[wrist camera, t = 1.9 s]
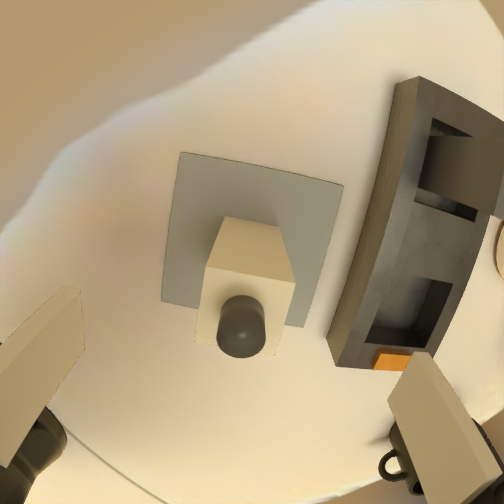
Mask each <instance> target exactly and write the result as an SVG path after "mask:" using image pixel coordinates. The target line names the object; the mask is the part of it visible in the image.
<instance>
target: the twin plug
mask: <svg viewBox="0 0 504 504" xmlns="http://www.w3.org/2000/svg"><path fill="white" fill-rule="evenodd" d="M417 188H420V189H423V190H425V191H428V192H431V193H434V194H437V195H439V196H442V197H445V198H448V199H450V200H453V201H456V202H459V203H461V204H464V205H467V206H469V207H472V208H474V209H477V210H480V211H482V212H485V213H487V214H490V215H492V216H494V217H497V218H499V219H502V220H504V139H494V138H480V137H461V136H429V138H428V143H427V148H426V153H425V158H424V162H423V166H422V171H421V175H420V179H419V183H418V187H417Z"/></svg>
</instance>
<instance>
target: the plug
mask: <svg viewBox="0 0 504 504" xmlns="http://www.w3.org/2000/svg"><path fill="white" fill-rule="evenodd" d="M295 285H296V282H295V278H294V275H293V272H292V268H291V265H290V261H289V258H288V255H287V251H286V248H285V245H284V241H283V238H282V235H281V232H280V228H279V227H278V226H273V225H268V224H263V223H259V222H254V221H249V220H244V219H238V218H233V217H228V216H225V217H224V220H223V222H222V225H221V228H220V230H219V233H218V235H217V238H216V240H215V243H214V246H213V248H212V251H211V254H210V256H209V259H208V261H207V264H206V267H205V274H204V280H203V286H202V293H201V299H200V306H199V312H198V319H197V326H196V333H195V340H194V341H197V342H201V343H207V344H212V345H217V346H219V347H220V349H221V350H222V351H223V352H224V353H226V354H227V355H229V356H232V357H236V358H248V357H251V356H254V355H256V354H257V353H264V354H270V355H275V353H276V350H277V346H278V343H279V340H280V337H281V333H282V330H283V327H284V323H285V320H286V316H287V313H288V310H289V306H290V303H291V299H292V296H293V292H294V289H295Z"/></svg>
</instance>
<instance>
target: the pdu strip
mask: <svg viewBox="0 0 504 504" xmlns="http://www.w3.org/2000/svg"><path fill="white" fill-rule="evenodd" d="M429 136H461V137H480V138H494V139H504V122H503V121H502V120H500V119H499V118H497V117H495V116H494V115H492V114H491V113H489V112H487V111H486V110H484V109H482V108H481V107H479V106H477V105H476V104H474V103H472V102H470V101H468V100H467V99H465V98H463V97H461V96H459V95H457V94H456V93H454V92H452V91H450V90H448V89H446V88H444V87H442V86H440V85H438V84H436V83H434V82H432V81H430V80H427V79H425V78H423V77H421V76H418V77H415V78H412V79H409V80H406V81H403V82H401V83H398V84H396V85H395V91H394V96H393V102H392V107H391V113H390V118H389V123H388V128H387V133H386V137H385V142H384V147H383V151H382V156H381V160H380V164H379V168H378V173H377V177H376V181H375V185H374V189H373V193H372V196H371V200H370V204H369V208H368V211H367V215H366V219H365V222H364V226H363V229H362V233H361V236H360V240H359V243H358V246H357V250H356V253H355V256H354V259H353V263H352V266H351V269H350V272H349V275H348V278H347V281H346V284H345V287H344V290H343V293H342V296H341V299H340V302H339V305H338V308H337V311H336V313H335V316H334V319H333V322H332V324H331V327H330V330H329V333H328V335H327V338H326V339H327V342H328V345H329V348H330V351H331V354H332V357H333V360H334V363H335V366H337V367H348V368H360V369H373V370H389V371H404V370H405V368H406V366H407V364H408V362H409V360H410V358H411V357H412V355H413V353H414V351H415V352H428V353H429V354H430V356H431V357H432V359H433V357H434V355H435V353H436V351H437V349H438V347H439V345H440V343H441V341H442V339H443V337H444V335H445V333H446V331H447V329H448V327H449V325H450V323H451V321H452V318H453V316H454V314H455V312H456V310H457V307H458V305H459V303H460V300H461V298H462V296H463V293H464V291H465V288H466V286H467V283H468V281H469V278H470V275H471V273H472V270H473V267H474V265H475V262H476V259H477V256H478V253H479V250H480V247H481V244H482V241H483V238H484V235H485V232H486V228H487V225H488V222H489V218H490V214H487V213H485V212H482V211H480V210H477V209H474V208H472V207H469V206H467V205H464V204H461V203H459V202H456V201H453V200H450V199H448V198H445V197H442V196H439V195H437V194H434V193H431V192H428V191H425V190H423V189H420V188H417V187H418V183H419V179H420V175H421V171H422V166H423V162H424V158H425V153H426V148H427V143H428V138H429Z"/></svg>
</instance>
